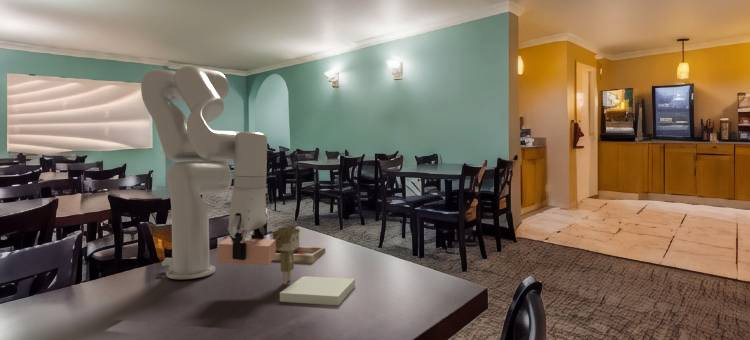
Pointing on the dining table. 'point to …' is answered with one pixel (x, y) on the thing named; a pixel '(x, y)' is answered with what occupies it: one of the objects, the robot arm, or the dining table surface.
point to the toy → (286, 249)
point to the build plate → (318, 290)
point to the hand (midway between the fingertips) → (248, 254)
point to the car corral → (304, 257)
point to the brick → (248, 251)
